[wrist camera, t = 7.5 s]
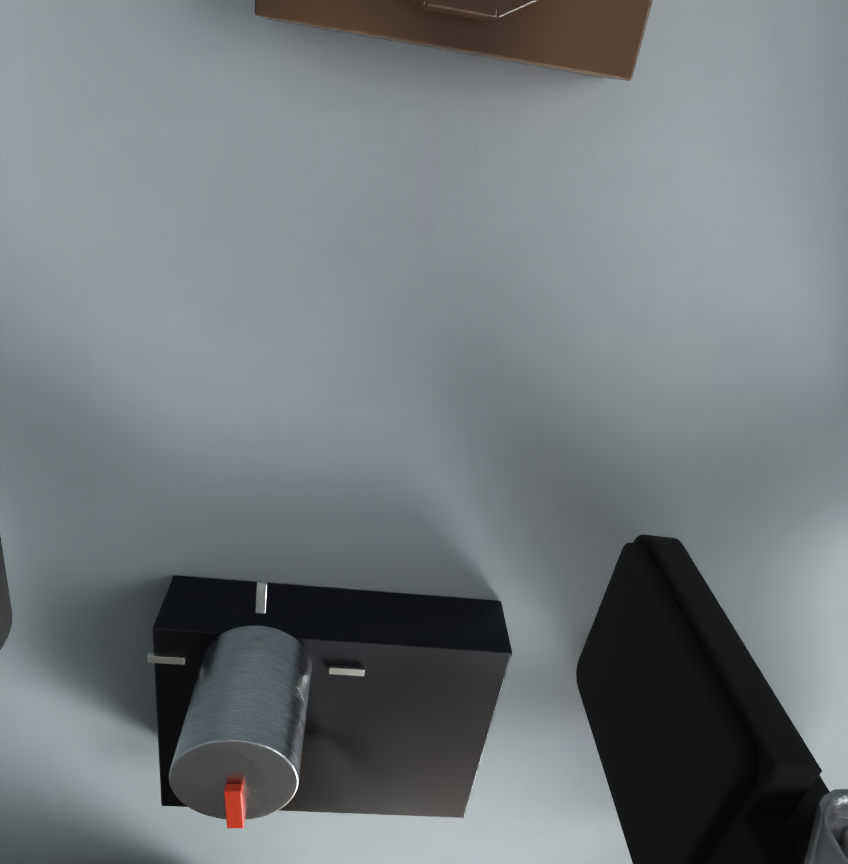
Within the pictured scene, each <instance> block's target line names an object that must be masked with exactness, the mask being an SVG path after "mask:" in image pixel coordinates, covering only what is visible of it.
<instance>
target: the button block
mask: <svg viewBox="0 0 848 864" xmlns="http://www.w3.org/2000/svg"><path fill="white" fill-rule="evenodd" d="M651 4H652V0H255V14H256V15H257V16H260V17H263V18H267V19H270V20H276V21H282V22H287V23H293V24H299V25H304V26H310V27H316V28H322V29H327V30H333V31H339V32H344V33H350V34H356V35H362V36H367V37H373V38H379V39H384V40H390V41H396V42H402V43H407V44H413V45H419V46H424V47H430V48H436V49H442V50H447V51H453V52H459V53H464V54H470V55H476V56H482V57H487V58H493V59H499V60H504V61H510V62H516V63H522V64H527V65H533V66H539V67H544V68H550V69H556V70H562V71H567V72H573V73H579V74H585V75H590V76H596V77H602V78H608V79H618V80H627V81H629V80H631V79H632V76H633V72H634V69H635V65H636V61H637V57H638V53H639V50H640V46H641V42H642V38H643V34H644V31H645V27H646V23H647V19H648V15H649V12H650V8H651Z"/></svg>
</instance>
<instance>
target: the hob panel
mask: <svg viewBox="0 0 848 864" xmlns="http://www.w3.org/2000/svg"><path fill="white" fill-rule="evenodd" d="M243 626H266V627H272V628H275V629H279V630H281V631H284V632H286V633H288V634H290V635H292V636H293V637H295V638H296V639H297V640H298V641H300V642H301V643H302V644H303V646H304V647H305V648H306V650H307V651H308V653H309V655H310V658H311V663H312V670H311V678H310V687H309V696H308V704H307V713H306V722H305V730H304V739H303V747H302V756H301V765H300V773H299V782H298V788H297V791H296V793H295V794H294V796H293V798H292V799H291V800H290V801H289V802H288V803H287V804H286V805H285V806H284V807H282V808H281V809H279V810H283V811H308V812H333V813H358V814H383V815H408V816H433V817H458V818H464V815H465V812H466V808H467V805H468V802H469V798H470V795H471V791H472V788H473V785H474V781H475V778H476V774H477V771H478V768H479V764H480V761H481V757H482V754H483V750H484V747H485V744H486V740H487V737H488V733H489V730H490V727H491V723H492V720H493V716H494V713H495V710H496V706H497V703H498V699H499V696H500V693H501V689H502V686H503V682H504V679H505V675H506V672H507V669H508V665H509V662H510V658H511V655H512V650H511V646H510V641H509V637H508V632H507V627H506V623H505V618H504V613H503V609H502V604H501V602H500V601H489V600H476V599H463V598H451V597H438V596H425V595H413V594H400V593H387V592H374V591H362V590H349V589H336V588H324V587H311V586H298V585H285V584H273V583H267V582H247V581H235V580H222V579H209V578H196V577H184V576H173V579H172V581H171V584H170V586H169V589H168V591H167V594H166V596H165V598H164V601H163V603H162V606H161V608H160V611H159V613H158V616H157V618H156V621H155V623H154V626H153V645H154V653H148V655H147V662H149V663H154V665H155V684H156V704H157V724H158V743H159V763H160V782H161V802H162V806H182V807H188V806H186V805H185V804H184V803H183V802H181V801H180V800H179V799H178V798H177V797H176V795H175V794H174V792H173V790H172V788H171V786H170V782H169V772H170V768H171V764H172V761H173V758H174V754H175V751H176V747H177V744H178V741H179V737H180V734H181V731H182V727H183V724H184V721H185V717H186V714H187V711H188V707H189V704H190V700H191V697H192V694H193V690H194V687H195V684H196V680H197V677H198V674H199V670H200V667H201V664H202V660H203V657H204V654H205V651H206V649H207V647H208V646H209V644H210V643H211V642H212V641H213V640H214V639H215V638H216V637H218V636H219V635H221V634H222V633H224V632H226V631H228V630H231V629H234V628H238V627H243Z"/></svg>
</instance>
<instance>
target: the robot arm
mask: <svg viewBox="0 0 848 864" xmlns="http://www.w3.org/2000/svg"><path fill="white" fill-rule="evenodd" d="M11 624H12V610H11V604H10V597H9V590H8V584H7V577H6V570H5V564H4V557H3V551H2V544H1V537H0V649H1V648H2V646H3V645H4V643H5V641H6V639H7V637H8V635H9V632H10V629H11ZM576 678H577V685H578V689H579V692H580V695H581V698H582V702H583V705H584V708H585V711H586V714H587V718H588V721H589V724H590V727H591V730H592V734H593V737H594V740H595V743H596V746H597V750H598V753H599V756H600V759H601V762H602V766H603V769H604V772H605V775H606V779H607V782H608V785H609V788H610V791H611V795H612V798H613V801H614V804H615V807H616V811H617V814H618V817H619V820H620V823H621V827H622V830H623V833H624V836H625V839H626V843H627V846H628V849H629V852H630V855H631V859H632V862H633V864H848V789H840V790H833V791H831V792H829V790H828V788H827V787H826V785H825V784H824V782H823V780H822V779H821V777H820V775H819V774H820V773H821V772H822V770H821V769H820V767H819V765H818V764H817V762H816V760H815V759H814V757H813V756H812V754H811V752H810V751H809V749H808V747H807V746H806V744H805V743H804V741H803V739H802V738H801V736H800V734H799V733H798V731H797V730H796V728H795V726H794V725H793V723H792V721H791V720H790V718H789V717H788V715H787V713H786V712H785V710H784V708H783V707H782V705H781V704H780V702H779V700H778V699H777V697H776V695H775V694H774V692H773V691H772V689H771V687H770V686H769V684H768V682H767V681H766V679H765V678H764V676H763V674H762V673H761V671H760V669H759V668H758V666H757V665H756V663H755V661H754V660H753V658H752V656H751V655H750V653H749V652H748V650H747V648H746V647H745V645H744V643H743V642H742V640H741V639H740V637H739V635H738V634H737V632H736V630H735V629H734V627H733V626H732V624H731V622H730V621H729V619H728V617H727V616H726V614H725V613H724V611H723V609H722V608H721V606H720V604H719V603H718V601H717V600H716V598H715V596H714V595H713V593H712V591H711V590H710V588H709V587H708V585H707V583H706V582H705V580H704V578H703V577H702V575H701V574H700V572H699V570H698V569H697V567H696V565H695V564H694V562H693V561H692V559H691V557H690V556H689V554H688V552H687V551H686V549H685V548H684V546H683V544H682V543H681V542H680V541H679V540H678V539H675V538H669V537H660V536H651V535H639V536H638V537H637V538H636V539H635V541H634V543H631V542H629V543H626V544H625V545H624V547H623V549H622V551H621V554H620V556H619V559H618V561H617V564H616V566H615V569H614V572H613V574H612V577H611V579H610V582H609V584H608V587H607V589H606V592H605V594H604V597H603V600H602V602H601V605H600V607H599V610H598V612H597V615H596V617H595V620H594V622H593V625H592V628H591V630H590V633H589V635H588V638H587V640H586V643H585V645H584V648H583V651H582V653H581V656H580V658H579V661H578V664H577V671H576Z"/></svg>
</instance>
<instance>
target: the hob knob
mask: <svg viewBox="0 0 848 864" xmlns="http://www.w3.org/2000/svg"><path fill="white" fill-rule="evenodd" d="M311 670H312V663H311V658H310V655H309V653H308V651H307V650H306V648H305V647H304V646H303V644H302V643H301V642H300V641H298V640H297V639H296V638H295V637H293V636H292V635H290V634H288V633H286V632H284V631H281V630H279V629H275V628H272V627H266V626H243V627H238V628H234V629H231V630H228V631H226V632H224V633H222V634H221V635H219V636H218V637H216V638H215V639H214V640H213V641H212V642H211V643H210V644H209V646H208V647H207V649H206V651H205V654H204V657H203V660H202V664H201V667H200V670H199V674H198V677H197V680H196V684H195V687H194V690H193V694H192V697H191V700H190V704H189V707H188V711H187V714H186V717H185V721H184V724H183V727H182V731H181V734H180V737H179V741H178V744H177V747H176V751H175V754H174V758H173V761H172V764H171V768H170V772H169V782H170V786H171V788H172V790H173V792H174V794H175V795H176V797H177V798H178V799H179V800H180V801H181V802H183V803H184V804H185V805H186V806H188V807H190V808H191V809H193V810H195V811H197V812H199V813H202V814H205V815H208V816H211V817H216V818H221V819H226V820H227V828H243V827H244V823H245V819H253V818H258V817H262V816H265V815H268V814H271V813H273V812H275V811H277V810H279V809H281V808H282V807H284V806H285V805H286V804H287V803H288V802H289V801H290V800H291V799H292V798H293V796H294V794H295V793H296V791H297V788H298V782H299V773H300V765H301V756H302V747H303V739H304V730H305V722H306V713H307V704H308V696H309V687H310V678H311Z"/></svg>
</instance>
